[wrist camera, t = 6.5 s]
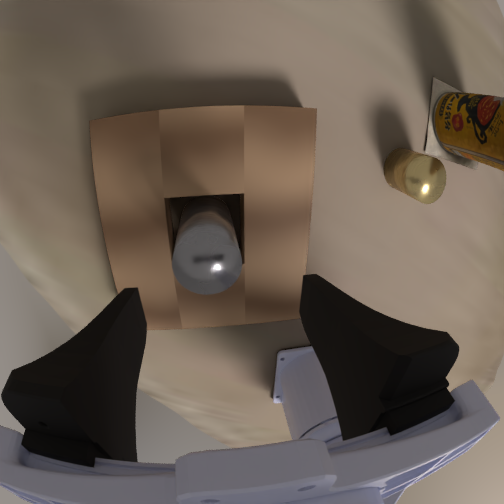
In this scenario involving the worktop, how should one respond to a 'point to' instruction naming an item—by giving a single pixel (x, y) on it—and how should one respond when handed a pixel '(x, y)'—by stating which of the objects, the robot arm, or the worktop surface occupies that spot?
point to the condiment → (466, 127)
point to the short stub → (415, 175)
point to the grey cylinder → (206, 247)
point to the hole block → (208, 183)
